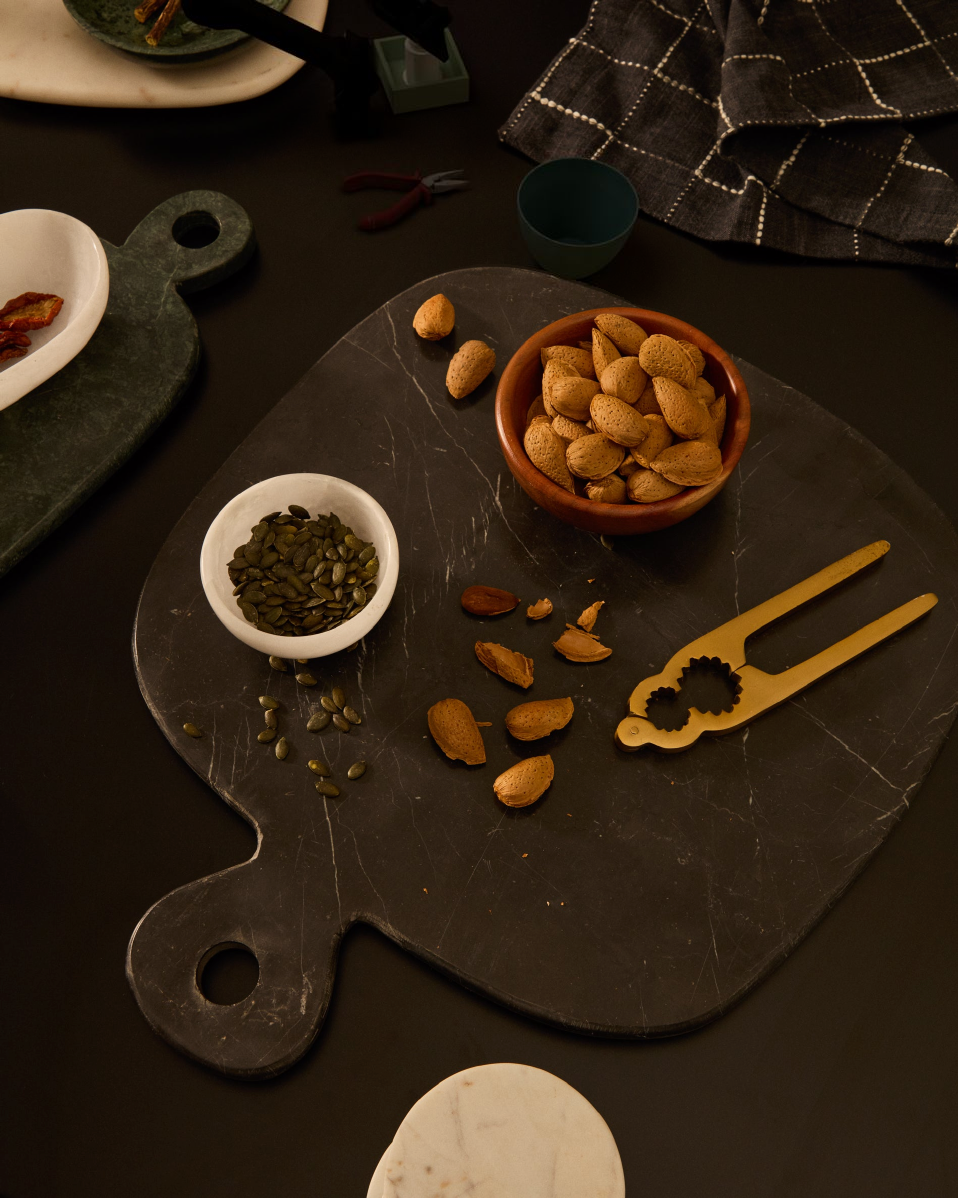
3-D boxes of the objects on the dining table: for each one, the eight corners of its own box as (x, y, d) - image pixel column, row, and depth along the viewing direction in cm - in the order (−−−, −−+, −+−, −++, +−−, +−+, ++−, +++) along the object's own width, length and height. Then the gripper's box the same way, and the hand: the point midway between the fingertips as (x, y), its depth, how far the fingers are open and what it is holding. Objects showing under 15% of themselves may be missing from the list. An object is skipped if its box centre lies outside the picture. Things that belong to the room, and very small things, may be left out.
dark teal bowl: (646, 252, 157) (661, 191, 146) (585, 322, 151) (595, 264, 140) (554, 202, 162) (561, 139, 151) (490, 268, 155) (493, 207, 144)
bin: (375, 63, 175) (373, 39, 171) (448, 51, 177) (448, 27, 173) (393, 114, 170) (392, 90, 165) (468, 101, 172) (469, 77, 167)
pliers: (479, 205, 161) (479, 192, 158) (362, 235, 157) (361, 222, 155) (455, 159, 165) (455, 146, 163) (342, 186, 162) (340, 173, 160)
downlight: (419, 58, 175) (418, 3, 166) (451, 73, 174) (452, 19, 164) (393, 82, 172) (390, 28, 163) (425, 98, 171) (424, 45, 162)
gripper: (453, -57, 138) (499, 32, 151) (388, -93, 148) (437, -7, 161) (397, 3, 140) (448, 86, 153) (337, -38, 149) (389, 43, 163)
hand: (431, 49), depth 157 cm, fingers open, 9 cm apart
